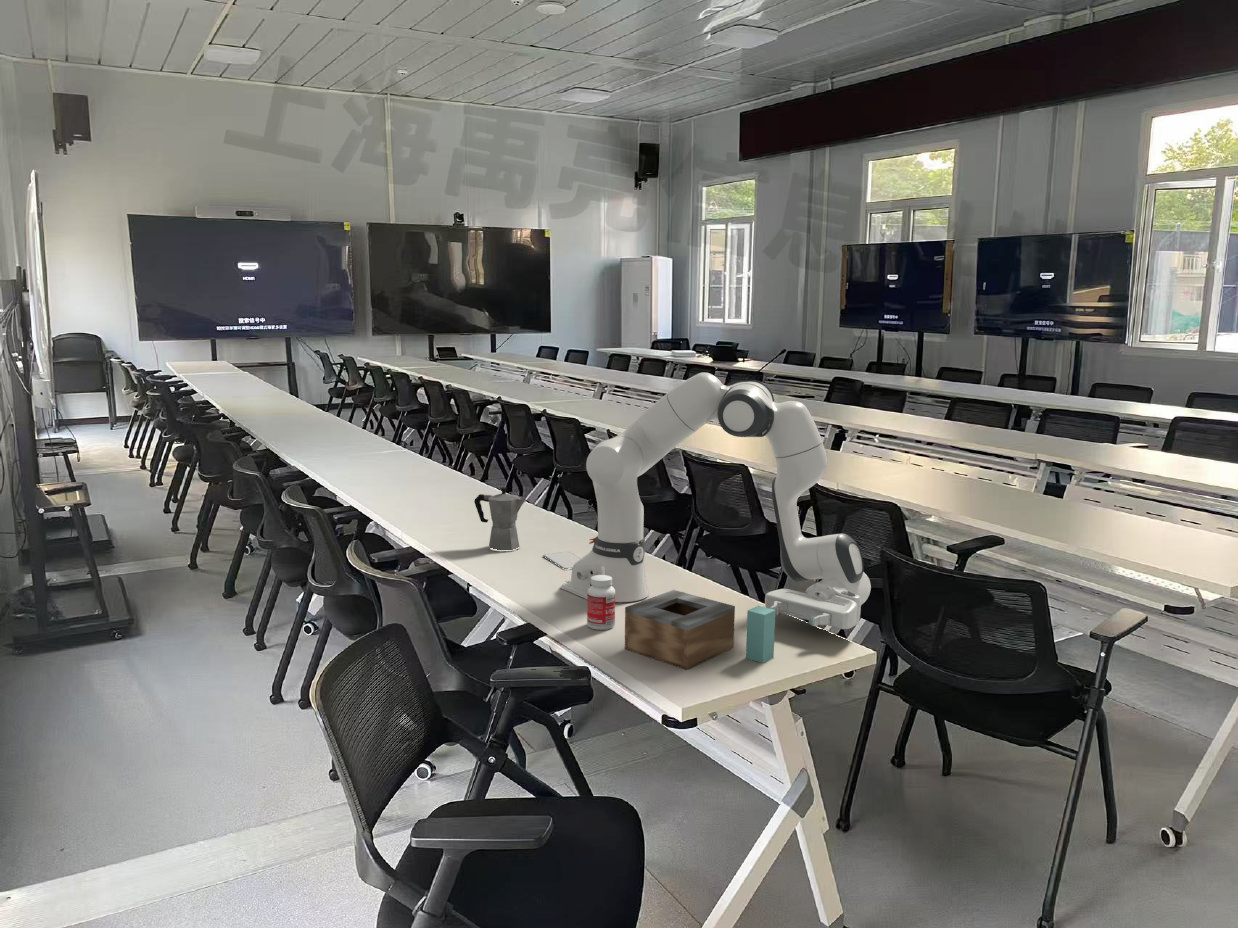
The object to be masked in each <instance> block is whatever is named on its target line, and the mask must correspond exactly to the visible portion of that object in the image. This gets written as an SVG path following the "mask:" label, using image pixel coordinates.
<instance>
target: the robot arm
mask: <svg viewBox="0 0 1238 928" xmlns="http://www.w3.org/2000/svg"><path fill="white" fill-rule="evenodd" d="M716 419H717V420H718V423H719V426H720V427H721V429H723V431H724V432H726V433H727V434H728V435H730V436H733V437H735V438H736V437H739V438H763V437H766V438H767V440H768V441H769V443H770V446H771V449H772V452H773V455H774V459H775V462H776V476H775V477H774V478H773V479H772V482H771V497H772V504H773V510H774V517H775V522H776V528H777V532H778V533H777V534H778V538H779V546H780V547H779V548H780V555H779V556H780V564H781V568H782V571H783V572H784V573H785V574H786V576H787V577H788V578H790V579H791V580H792V581H794V582H795V583H799V584H800V583H805V582H810V581H814V580H820V581H818V582H816V583H813V584H811V585H810V586H809V587H807V588H806V590H805V591H798V590H797V589H795V590H794V589H791V588H780V589H775V590H771V591H768V592H767V593H765V597H764V607H765V608H769V609H773V610H775V617H777V616H780V614H784V615H788V616H791V617H795V618H798V619H801V620H806V621H808V626H812V627H817V626H829V627H831V628H832V627H833V628H837V629H840V630H849V629H852V628H854V627H855V626H857V625H859V624H860V619H861V612H862V611H861V610H862V609H861V607H862V605H864V603H865V602H866V601H867V600H868V598H869V596H870V593H871V589H872V586H871V584H872V583H871V581H870V578H869V576H868V575H867V574H866V573H865V572H864V567H865V566H864V558H863V554H862V550H861V548H860V546H859V544H857V541H855V540H854V539H853V538H852V537H851V536H850V535H848V534H846V533H834V534H828V535H823V536H816V537H805V536H804V535H803V534H802V531H801V530H802V529H801V525H800V523H801V522H800V518H799V517H800V516H799V513H798V507H797V503H798V500H799V499H798V498H799V497H800V496H801V495H802V494H803V493H804V492H806V491H808V490H809V489H811V488H812V487H814V485H816V484H817V483H818V482H819V481H821V479H822V478H823V477H824V475H825V474H826V471H827V469H828V456H827V452H826V448H825V446H824V442H823V440H822V437H821V435H820V432H819V429H818V426H817V424H816V423H815V420H814V418H813V417H812V415H811V413H810V411H809V409H808V408H807V406H806V405H805V404H804V403H802V402H801V401H797V400H787V401H783V402H775V396H774V394H773V392H772V390H771V388H770V387H769V386H768V385H767V384H766V383H763V382H762V381H760V380H755V379H747V380H741V381H740V380H739V381H731V382H728V383H727V384H726V385H724V384H723V383H722V382H721V380H720V379H719V378H718V377H717V376H715V375H713V374H712V373H709V372H700V373H696V374H695V375H693V376H691V377H690V378H687V379H686V380H683V382H681V383H680V384H677V386H675V387H674V388H672V389H670V391H668V392H667V393H666V394H664V395H663V396H661V398H659V399H658V400H657V401H656V402H654V403H653V404H652V405H651V406H650V407H648V408H647V409H646V410H644V411H643V412H642V413H641V414H640V416H639V417H638V418H637V419H635V421H633V423H631V425H630V426H629V427H627V428H626V429H625V430H624V431H622V432H621V433H619V434H618V435H616V436H614V437H612V438H609V439H606V440H603V441H601V442H600V443H597V445H596V446H595V447H594V448H593V449H592V450H591V451H590V453H589V454H588V456H587V457H586V463H585V465H586V472H587V474H588V477H589V478H590V479H591V480H592V485H593V488H594V493H595V498H596V502H597V503H596V505H597V535H596V536H595V537H594V538H593V537H592V538H590V539H589V541H590V542H589V543H588V544H590V545H591V544H593V546H592V549H591V550H590V552H588V553H587V554H586V555H584V556H583V557H581V559H580V560H578V561H577V562H576V563H575V564H574V566H573V568H572V569H571V574H570V576H571V577H570V578H569V579H567V580H565V581H563V582H562V584H561V589H562V590H565V591H567V592H569V593H571V594H573V595H576V596H578V597H581V598H583V599H584V600H587V591H588V589H589V587H591V586H592V585H591V577H592V576H595V575H607V576H610V577H612V585H611V586H612V587H613V588H614V589H615V603H629V602H630V603H631V602H636V601H637V602H638V601H640V600H643V599H644V600H645V599H646V598H647V597H648V596H650V592H649V587H648V584H647V578H646V577H647V576H646V569H645V562H644V561H645V559H644V558H645V554H646V538H645V536H644V520H645V519H644V518H645V517H644V516H645V514H644V505H643V503H642V500H641V498H640V495H639V488H638V477H640V476H642V475H643V474H645V473H646V472H647V471H648V470H649V469H651V468H653V466H654V465H656V464H657V463H658V462H660V460H662V459H663V458H664V457H665V456H666V455H667V454H669V453H670V452H671V451H672V450H674V449H675V448H676V447H677V446H679V445H680V444H681V443H683V442H684V441H685V440H687V439H688V438H689V437H691V435H693V434H695V432H697V431H698V430H699V429H701V428H702V427H703V426H705V425H706V424H707V423H710V422H711V421H712V420H716Z"/></svg>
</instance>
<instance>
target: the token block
mask: <svg viewBox="0 0 1238 928" xmlns="http://www.w3.org/2000/svg"><path fill="white" fill-rule="evenodd" d="M746 613H747V617H746V619H747V620H746V639H745V640H746V645H745V659H747V660H751V661H753V662H754V661H755V662H758V663H761V664H765V663H767V662H769V661H770V660H772V659H773V658H774V656H775V655H774V654H775V653H774V652H775V633H776V629H775V627H776V616H775V610H773V609H769V608H766V607H765V606H761V605H757V606H755V607H752V608H750V609H747V611H746Z"/></svg>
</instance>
